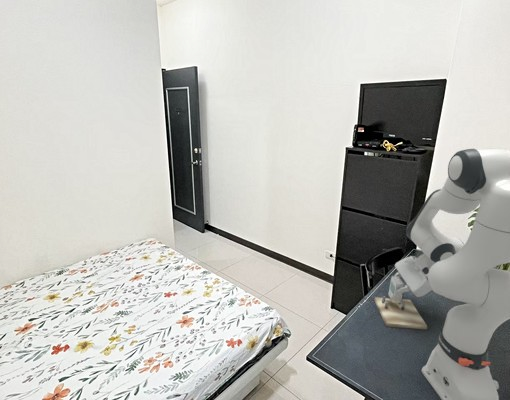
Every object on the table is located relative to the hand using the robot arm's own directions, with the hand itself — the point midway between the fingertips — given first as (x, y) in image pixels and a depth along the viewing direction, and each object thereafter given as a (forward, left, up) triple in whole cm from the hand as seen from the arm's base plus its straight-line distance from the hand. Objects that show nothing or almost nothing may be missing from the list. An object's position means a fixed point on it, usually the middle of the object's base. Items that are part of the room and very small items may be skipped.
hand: (395, 286), depth 119 cm
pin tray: (-3, -2, -11) cm, 11 cm away
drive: (0, -1, -6) cm, 6 cm away
